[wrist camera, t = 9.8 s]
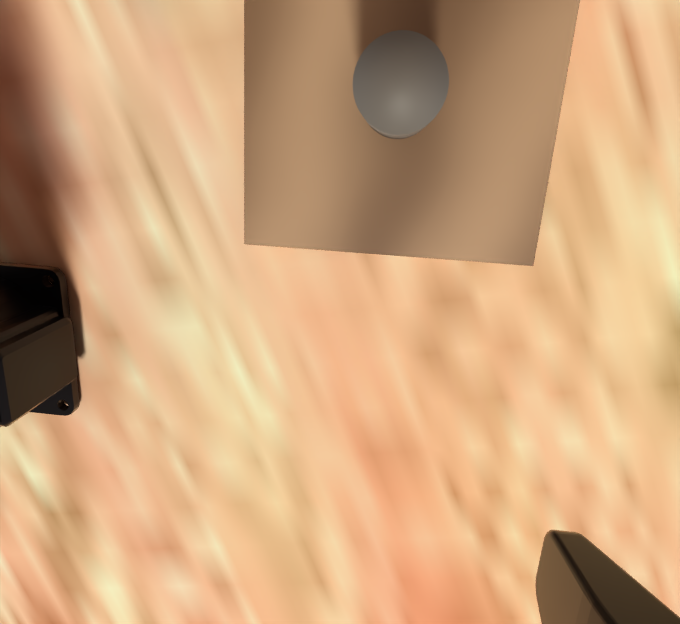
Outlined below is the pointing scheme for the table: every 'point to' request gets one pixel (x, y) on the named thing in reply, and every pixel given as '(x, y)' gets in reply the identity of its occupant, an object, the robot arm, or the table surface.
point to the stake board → (412, 179)
